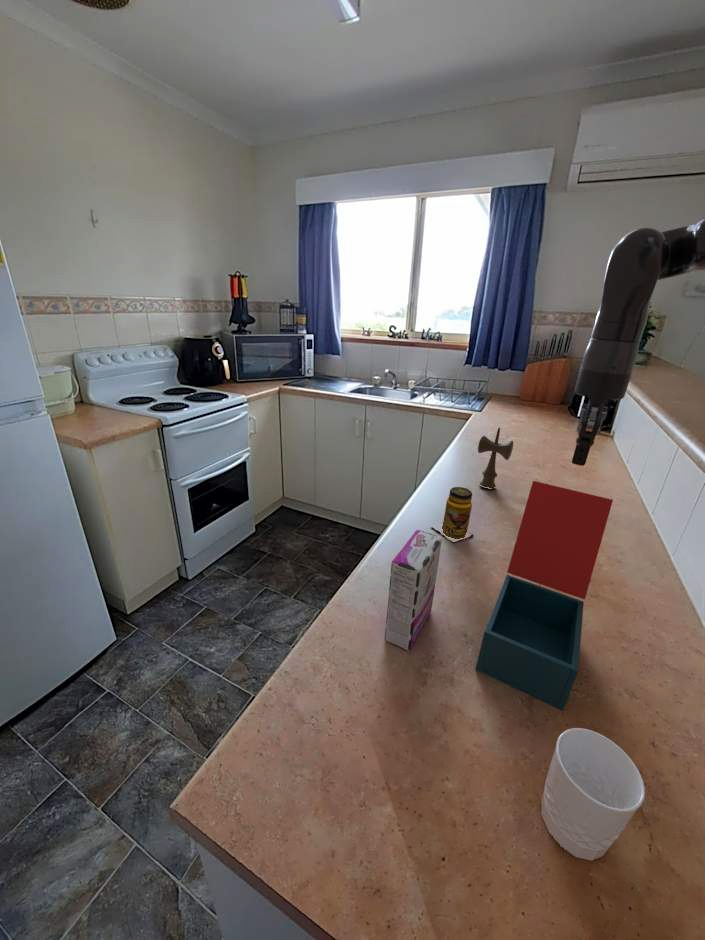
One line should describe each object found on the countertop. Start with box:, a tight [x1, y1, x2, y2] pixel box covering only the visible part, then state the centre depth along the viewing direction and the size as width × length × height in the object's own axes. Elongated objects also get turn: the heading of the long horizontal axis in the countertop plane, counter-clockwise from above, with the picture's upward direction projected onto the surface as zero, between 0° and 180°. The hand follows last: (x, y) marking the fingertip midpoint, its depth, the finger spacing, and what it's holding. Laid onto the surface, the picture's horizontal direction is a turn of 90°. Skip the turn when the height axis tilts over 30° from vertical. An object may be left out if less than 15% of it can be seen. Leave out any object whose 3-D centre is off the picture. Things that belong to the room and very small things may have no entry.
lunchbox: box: [475, 574, 585, 711], centre depth 65 cm, size 17×13×8 cm
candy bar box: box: [384, 529, 443, 652], centre depth 67 cm, size 11×5×16 cm, turn 151°
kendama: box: [477, 427, 514, 488], centre depth 123 cm, size 6×10×20 cm, turn 58°
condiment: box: [442, 486, 473, 539], centre depth 98 cm, size 7×8×12 cm
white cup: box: [540, 727, 646, 862], centre depth 42 cm, size 8×8×10 cm
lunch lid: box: [506, 480, 614, 600], centre depth 70 cm, size 17×13×1 cm
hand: (578, 463), depth 73 cm, fingers closed
